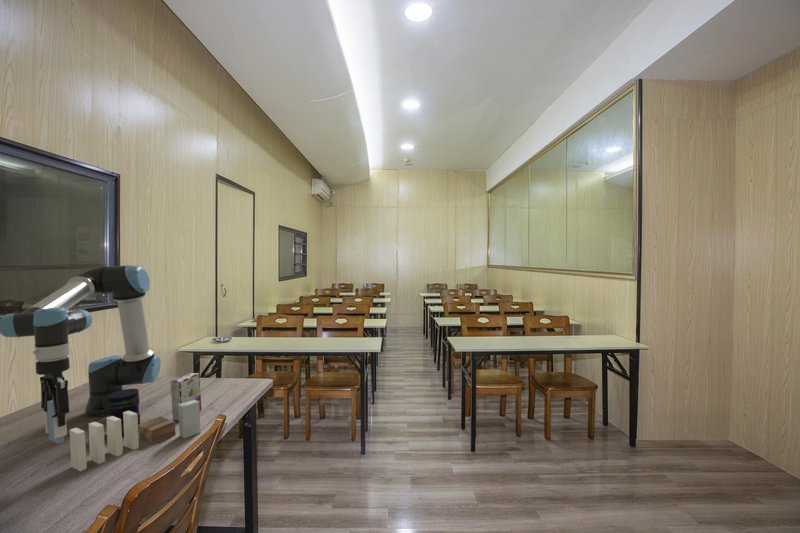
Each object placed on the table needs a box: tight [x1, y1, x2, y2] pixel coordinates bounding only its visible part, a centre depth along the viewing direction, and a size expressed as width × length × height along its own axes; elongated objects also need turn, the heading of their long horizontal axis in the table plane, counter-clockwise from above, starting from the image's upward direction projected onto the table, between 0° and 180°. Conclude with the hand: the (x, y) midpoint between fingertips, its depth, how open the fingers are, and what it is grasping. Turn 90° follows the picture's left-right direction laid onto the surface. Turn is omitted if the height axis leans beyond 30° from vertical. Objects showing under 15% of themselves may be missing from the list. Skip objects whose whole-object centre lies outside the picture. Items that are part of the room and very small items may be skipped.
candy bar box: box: [170, 372, 202, 422], centre depth 159 cm, size 11×5×16 cm, turn 168°
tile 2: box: [88, 421, 106, 465], centre depth 124 cm, size 6×2×12 cm, turn 60°
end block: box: [138, 416, 176, 445], centre depth 140 cm, size 10×8×5 cm
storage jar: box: [108, 388, 141, 437], centre depth 145 cm, size 10×10×15 cm
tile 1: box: [69, 427, 87, 472], centre depth 120 cm, size 6×2×12 cm, turn 60°
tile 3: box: [106, 416, 124, 457], centre depth 128 cm, size 6×2×12 cm, turn 60°
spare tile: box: [47, 400, 65, 444], centre depth 115 cm, size 6×2×12 cm, turn 60°
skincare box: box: [178, 400, 201, 439], centre depth 140 cm, size 6×4×12 cm
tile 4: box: [123, 411, 140, 451], centre depth 132 cm, size 6×2×12 cm, turn 60°
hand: (56, 433), depth 115 cm, fingers closed on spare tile, 6 cm apart
